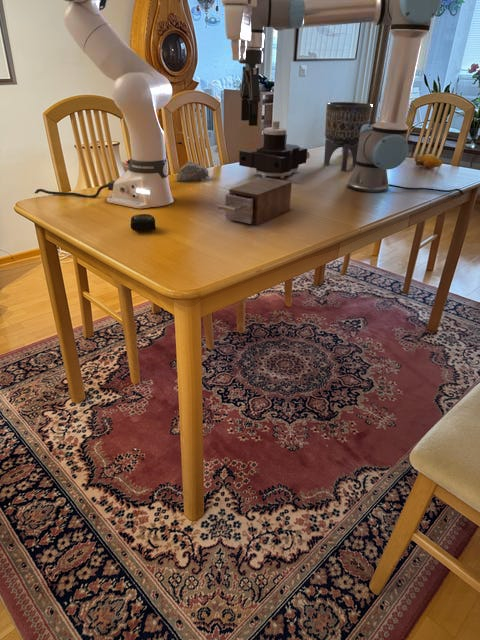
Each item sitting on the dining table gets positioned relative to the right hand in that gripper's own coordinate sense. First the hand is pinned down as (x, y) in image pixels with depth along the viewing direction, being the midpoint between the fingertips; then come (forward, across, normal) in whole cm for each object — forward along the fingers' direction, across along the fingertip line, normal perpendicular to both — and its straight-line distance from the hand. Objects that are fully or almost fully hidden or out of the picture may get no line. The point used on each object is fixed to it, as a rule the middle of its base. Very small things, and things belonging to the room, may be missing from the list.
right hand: (248, 123), depth 152 cm
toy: (+24, -40, +94) cm, 105 cm away
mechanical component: (+24, -34, +22) cm, 47 cm away
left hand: (-18, +21, -8) cm, 29 cm away
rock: (+24, -25, -17) cm, 39 cm away
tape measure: (+24, +35, -36) cm, 56 cm away
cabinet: (+24, +22, 0) cm, 33 cm away
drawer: (+23, +27, -4) cm, 36 cm away
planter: (+24, -44, +54) cm, 73 cm away
